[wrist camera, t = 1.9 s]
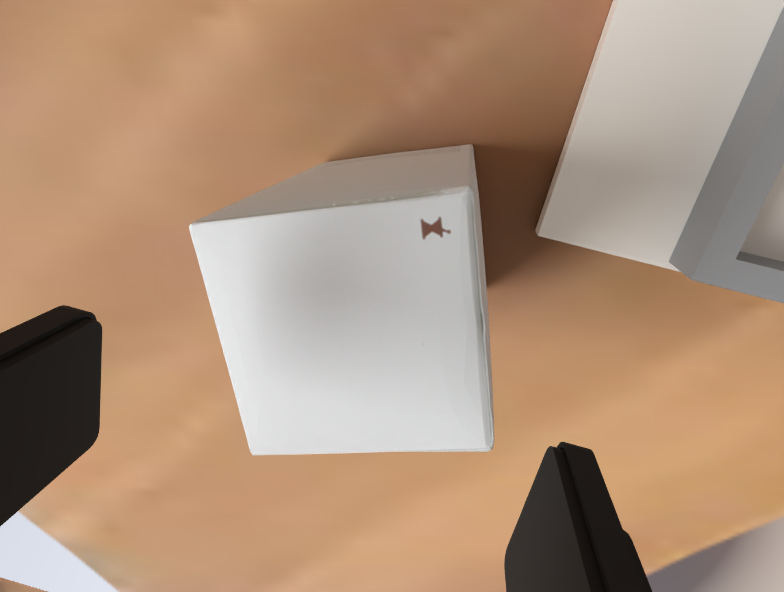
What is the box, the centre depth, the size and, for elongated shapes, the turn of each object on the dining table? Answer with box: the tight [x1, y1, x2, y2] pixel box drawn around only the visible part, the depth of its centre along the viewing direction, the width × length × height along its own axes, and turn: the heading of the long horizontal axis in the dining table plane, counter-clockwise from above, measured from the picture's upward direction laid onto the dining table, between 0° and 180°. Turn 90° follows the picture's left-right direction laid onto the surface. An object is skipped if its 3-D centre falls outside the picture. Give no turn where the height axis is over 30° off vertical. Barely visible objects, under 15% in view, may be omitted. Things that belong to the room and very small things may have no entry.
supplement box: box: [189, 144, 494, 455], centre depth 19 cm, size 7×7×13 cm
